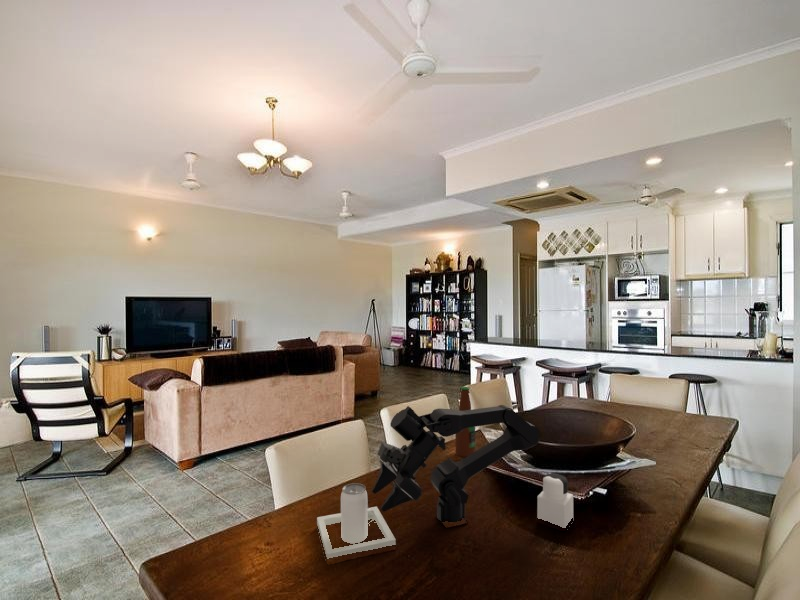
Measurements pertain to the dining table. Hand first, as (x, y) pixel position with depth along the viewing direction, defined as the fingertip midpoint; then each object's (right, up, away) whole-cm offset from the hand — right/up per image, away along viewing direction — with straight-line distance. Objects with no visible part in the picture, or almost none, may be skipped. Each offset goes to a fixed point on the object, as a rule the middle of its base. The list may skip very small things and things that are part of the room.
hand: (377, 501), depth 103 cm
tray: (-6, -8, -2) cm, 10 cm away
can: (-5, -8, -3) cm, 10 cm away
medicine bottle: (+46, -8, +5) cm, 47 cm away
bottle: (+30, -8, +51) cm, 60 cm away
